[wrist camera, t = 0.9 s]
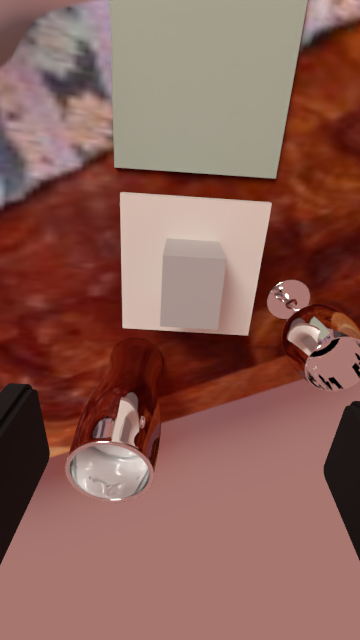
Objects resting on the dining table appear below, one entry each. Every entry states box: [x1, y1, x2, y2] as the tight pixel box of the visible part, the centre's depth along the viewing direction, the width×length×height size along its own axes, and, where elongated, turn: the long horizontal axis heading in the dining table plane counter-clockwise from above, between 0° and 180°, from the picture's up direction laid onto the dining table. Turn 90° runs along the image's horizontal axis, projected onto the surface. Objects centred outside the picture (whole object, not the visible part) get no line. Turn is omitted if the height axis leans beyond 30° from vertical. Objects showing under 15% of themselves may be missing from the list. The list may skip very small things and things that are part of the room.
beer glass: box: [65, 338, 163, 502], centre depth 30 cm, size 7×7×15 cm
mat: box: [110, 0, 308, 179], centre depth 25 cm, size 14×14×1 cm
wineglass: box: [267, 279, 360, 391], centre depth 28 cm, size 6×6×12 cm
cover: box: [120, 192, 272, 336], centre depth 24 cm, size 11×11×6 cm
